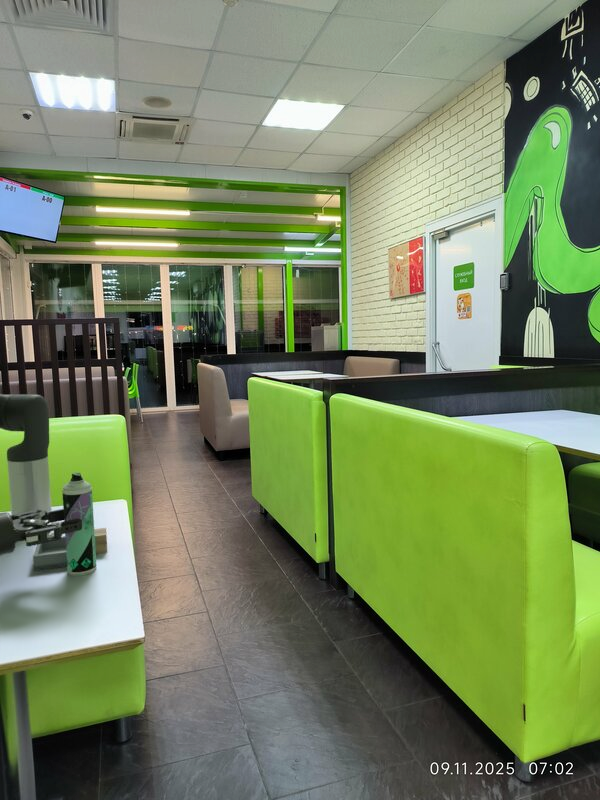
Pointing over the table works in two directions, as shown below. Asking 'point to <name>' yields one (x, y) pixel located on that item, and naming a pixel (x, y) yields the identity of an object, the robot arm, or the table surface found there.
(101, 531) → the chock block
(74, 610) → the table surface
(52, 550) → the tray
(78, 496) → the spray can
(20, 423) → the robot arm
